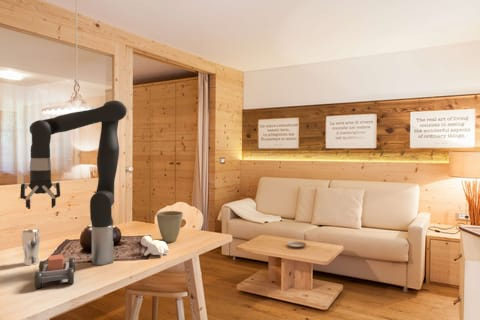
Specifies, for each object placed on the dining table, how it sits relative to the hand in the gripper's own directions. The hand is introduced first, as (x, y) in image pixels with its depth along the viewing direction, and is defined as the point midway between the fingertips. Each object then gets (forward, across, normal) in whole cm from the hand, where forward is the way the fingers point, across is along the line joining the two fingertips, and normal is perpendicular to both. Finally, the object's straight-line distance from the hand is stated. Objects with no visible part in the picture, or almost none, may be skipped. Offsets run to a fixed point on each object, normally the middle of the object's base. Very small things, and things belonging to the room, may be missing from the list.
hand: (40, 208), depth 144 cm
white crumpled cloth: (+28, -48, -11) cm, 57 cm away
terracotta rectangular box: (+24, -6, +9) cm, 26 cm away
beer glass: (+28, +6, -18) cm, 34 cm away
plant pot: (+28, -61, -33) cm, 75 cm away
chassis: (+28, -6, +7) cm, 30 cm away
